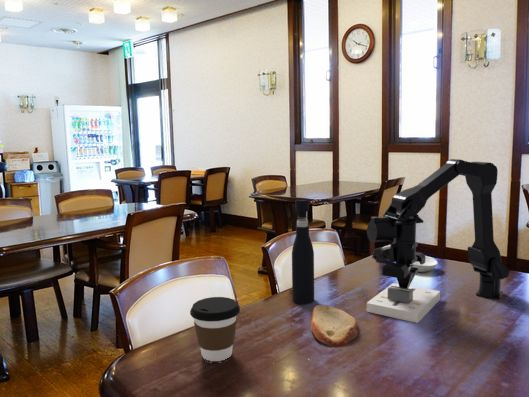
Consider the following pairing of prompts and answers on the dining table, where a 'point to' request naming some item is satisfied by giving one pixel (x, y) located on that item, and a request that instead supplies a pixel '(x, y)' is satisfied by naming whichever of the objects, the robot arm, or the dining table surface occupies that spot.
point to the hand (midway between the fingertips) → (403, 293)
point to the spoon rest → (426, 266)
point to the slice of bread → (333, 326)
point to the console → (404, 304)
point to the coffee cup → (215, 326)
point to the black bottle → (302, 258)
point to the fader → (400, 294)
